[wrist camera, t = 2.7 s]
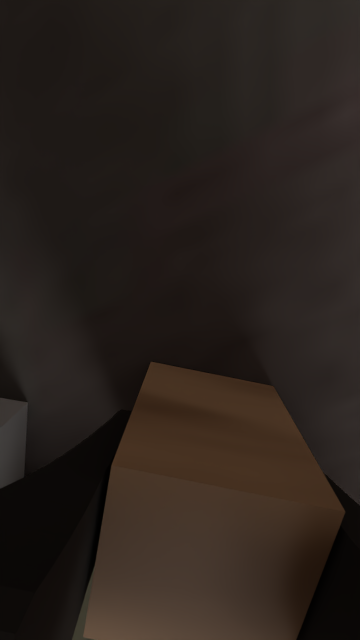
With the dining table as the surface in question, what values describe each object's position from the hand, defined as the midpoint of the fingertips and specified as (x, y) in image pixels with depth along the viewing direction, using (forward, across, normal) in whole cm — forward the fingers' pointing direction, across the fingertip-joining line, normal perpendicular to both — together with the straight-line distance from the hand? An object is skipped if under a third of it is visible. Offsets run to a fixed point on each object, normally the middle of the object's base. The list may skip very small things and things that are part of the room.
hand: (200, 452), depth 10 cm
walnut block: (+1, 0, 0) cm, 1 cm away
